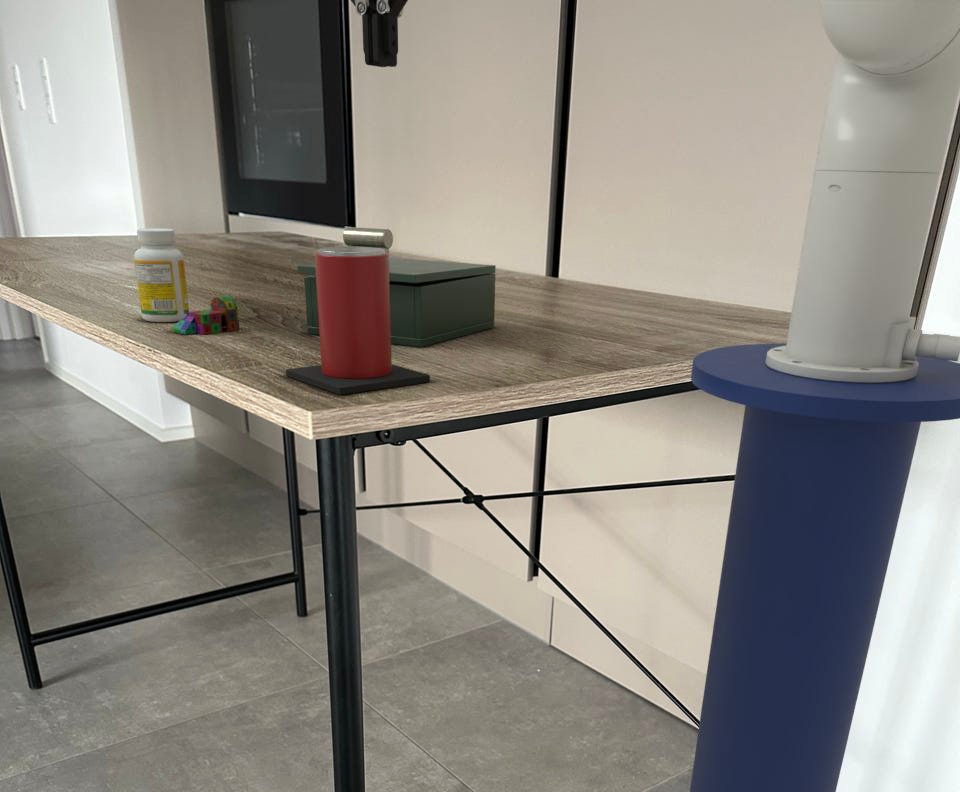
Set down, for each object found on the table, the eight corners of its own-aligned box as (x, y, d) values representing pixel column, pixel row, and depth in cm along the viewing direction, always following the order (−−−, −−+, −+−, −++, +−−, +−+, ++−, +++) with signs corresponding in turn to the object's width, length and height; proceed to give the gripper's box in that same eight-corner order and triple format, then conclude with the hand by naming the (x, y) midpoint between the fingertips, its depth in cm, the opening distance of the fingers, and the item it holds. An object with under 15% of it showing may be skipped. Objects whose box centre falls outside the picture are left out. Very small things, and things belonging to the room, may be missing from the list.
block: (217, 325, 106) (213, 293, 104) (239, 329, 103) (236, 297, 102) (171, 331, 101) (166, 298, 100) (193, 336, 99) (189, 302, 98)
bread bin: (421, 347, 95) (420, 286, 93) (307, 333, 102) (303, 276, 99) (494, 327, 108) (495, 273, 105) (388, 316, 114) (387, 265, 111)
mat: (430, 382, 81) (430, 374, 80) (340, 395, 75) (339, 387, 75) (372, 365, 87) (372, 358, 86) (285, 376, 82) (285, 369, 81)
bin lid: (415, 283, 92) (415, 232, 90) (297, 273, 98) (294, 225, 96) (495, 273, 105) (497, 228, 103) (387, 264, 111) (386, 222, 109)
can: (405, 370, 82) (402, 249, 77) (365, 382, 77) (360, 254, 73) (349, 362, 84) (343, 245, 80) (307, 373, 80) (299, 249, 75)
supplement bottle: (162, 324, 106) (150, 231, 101) (132, 319, 108) (119, 229, 104) (200, 318, 110) (190, 229, 105) (170, 314, 112) (159, 227, 108)
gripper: (280, -179, 83) (295, 64, 91) (423, -205, 76) (426, 59, 85) (332, -156, 89) (342, 71, 97) (469, -178, 82) (467, 67, 91)
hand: (381, 65), depth 91 cm, fingers closed
